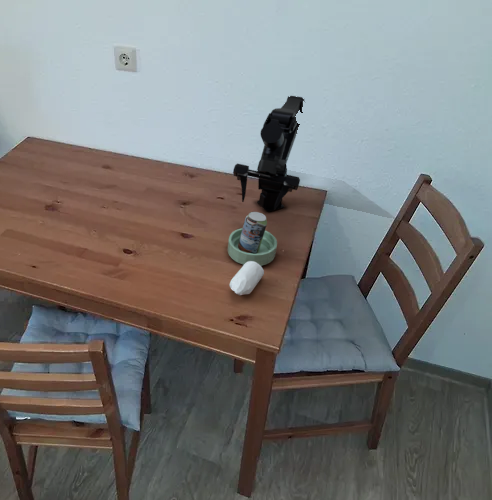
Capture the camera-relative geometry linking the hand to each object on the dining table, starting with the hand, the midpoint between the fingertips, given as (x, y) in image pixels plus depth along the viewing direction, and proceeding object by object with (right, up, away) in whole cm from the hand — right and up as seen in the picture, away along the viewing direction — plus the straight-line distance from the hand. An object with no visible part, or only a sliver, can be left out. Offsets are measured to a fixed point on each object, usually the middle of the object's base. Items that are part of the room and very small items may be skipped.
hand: (258, 205), depth 155 cm
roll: (-7, -23, -13) cm, 27 cm away
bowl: (-2, -14, 0) cm, 14 cm away
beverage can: (-2, -13, 0) cm, 13 cm away
